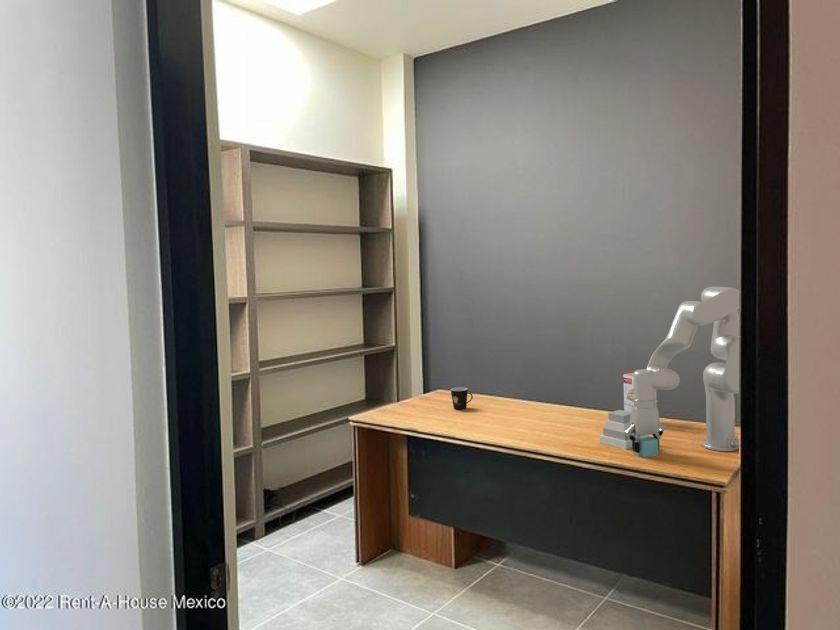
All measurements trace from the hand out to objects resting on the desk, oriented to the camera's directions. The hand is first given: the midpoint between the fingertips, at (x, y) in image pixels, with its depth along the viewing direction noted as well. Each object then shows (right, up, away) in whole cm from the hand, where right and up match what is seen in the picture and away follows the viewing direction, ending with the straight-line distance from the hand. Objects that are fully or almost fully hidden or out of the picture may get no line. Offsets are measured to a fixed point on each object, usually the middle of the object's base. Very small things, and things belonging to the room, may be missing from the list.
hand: (645, 450), depth 222 cm
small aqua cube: (0, -1, 0) cm, 1 cm away
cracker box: (+13, +3, +41) cm, 43 cm away
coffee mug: (-62, +2, +82) cm, 103 cm away
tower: (-4, 0, +14) cm, 15 cm away
